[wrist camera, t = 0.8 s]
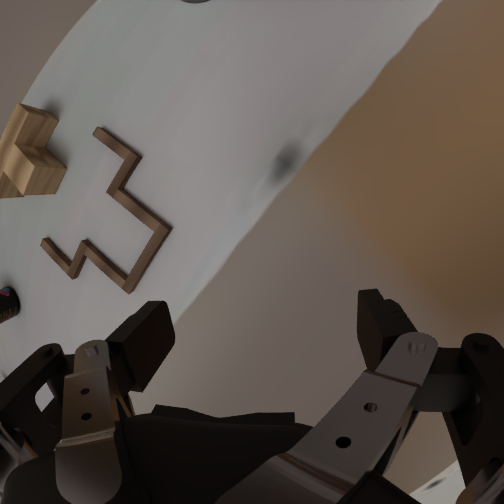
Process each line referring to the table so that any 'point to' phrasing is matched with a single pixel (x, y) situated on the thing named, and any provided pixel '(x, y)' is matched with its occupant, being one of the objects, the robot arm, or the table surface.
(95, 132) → the T outline
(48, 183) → the T block
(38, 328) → the table surface
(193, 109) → the table surface
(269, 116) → the table surface
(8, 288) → the supplement container
